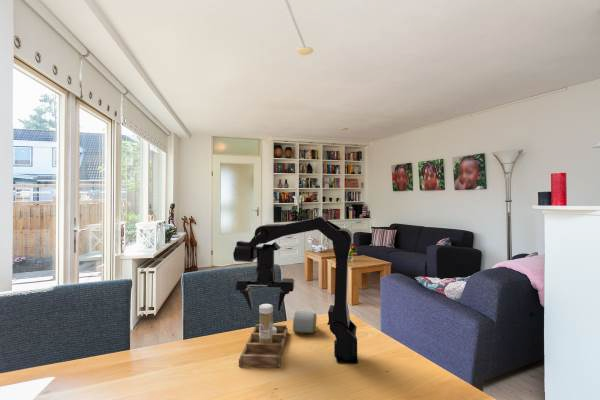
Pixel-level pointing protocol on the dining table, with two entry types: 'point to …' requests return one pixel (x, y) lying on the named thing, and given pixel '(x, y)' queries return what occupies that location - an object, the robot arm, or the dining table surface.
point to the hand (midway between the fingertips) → (265, 310)
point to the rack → (264, 349)
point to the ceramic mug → (304, 321)
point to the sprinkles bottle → (266, 323)
